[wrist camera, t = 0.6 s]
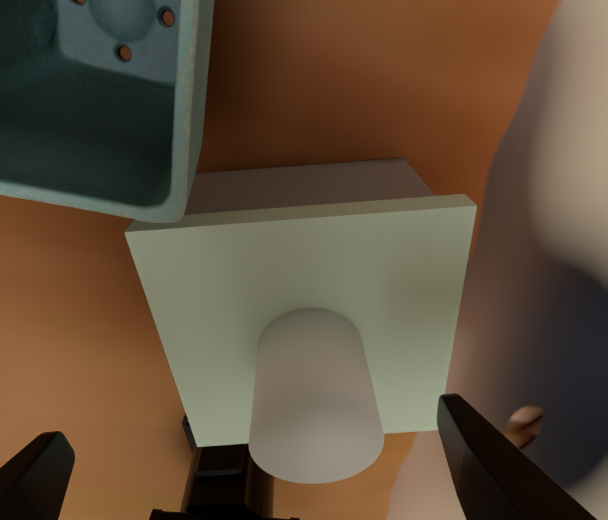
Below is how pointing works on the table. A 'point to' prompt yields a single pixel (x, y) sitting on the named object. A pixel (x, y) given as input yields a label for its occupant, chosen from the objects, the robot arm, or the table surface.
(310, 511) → the table surface
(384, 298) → the lid
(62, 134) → the flower pot
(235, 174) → the storage box
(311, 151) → the table surface
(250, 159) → the table surface
